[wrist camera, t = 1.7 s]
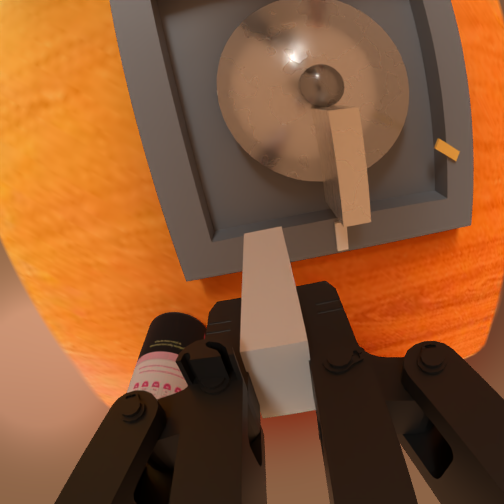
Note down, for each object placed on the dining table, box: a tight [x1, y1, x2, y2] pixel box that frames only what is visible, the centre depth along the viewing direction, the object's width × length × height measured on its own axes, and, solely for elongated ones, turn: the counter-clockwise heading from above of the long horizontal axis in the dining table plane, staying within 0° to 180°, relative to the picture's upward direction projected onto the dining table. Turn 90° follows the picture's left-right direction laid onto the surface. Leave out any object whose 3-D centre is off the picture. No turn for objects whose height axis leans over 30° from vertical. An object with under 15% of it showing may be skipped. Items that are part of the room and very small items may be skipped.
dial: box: [217, 0, 409, 227], centre depth 18 cm, size 16×14×7 cm
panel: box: [110, 0, 473, 281], centre depth 21 cm, size 26×26×4 cm
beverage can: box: [127, 312, 206, 399], centre depth 26 cm, size 7×7×15 cm
